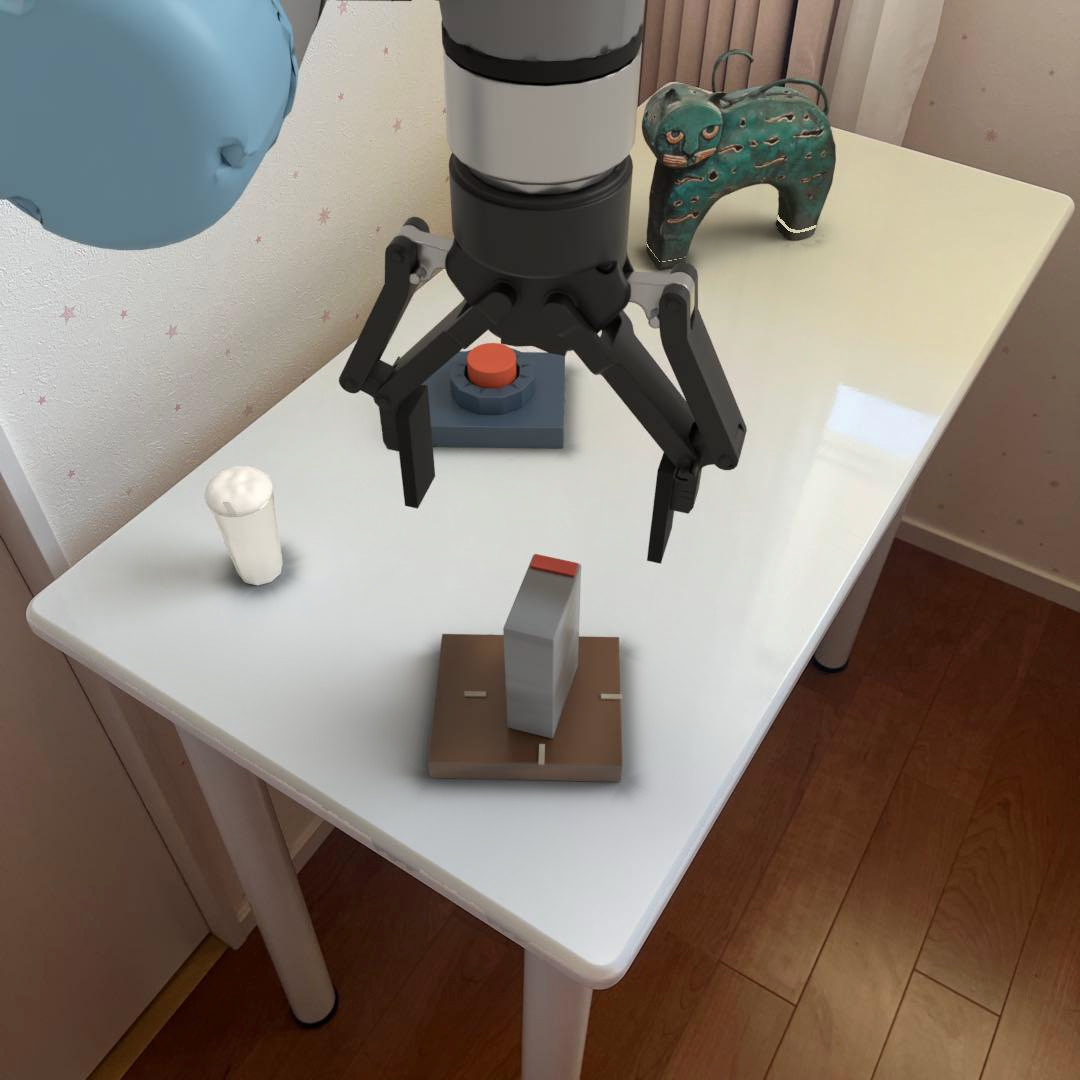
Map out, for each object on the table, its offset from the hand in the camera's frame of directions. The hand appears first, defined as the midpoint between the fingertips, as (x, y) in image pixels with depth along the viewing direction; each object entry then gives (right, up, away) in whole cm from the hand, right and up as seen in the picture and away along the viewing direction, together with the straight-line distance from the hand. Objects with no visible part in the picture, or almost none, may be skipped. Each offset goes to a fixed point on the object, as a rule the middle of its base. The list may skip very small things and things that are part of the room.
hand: (537, 517), depth 60 cm
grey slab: (0, -11, +11) cm, 16 cm away
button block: (-4, +10, +34) cm, 36 cm away
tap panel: (-1, -13, +13) cm, 18 cm away
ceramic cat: (+19, +28, +51) cm, 62 cm away
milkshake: (-20, -4, +21) cm, 30 cm away
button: (-4, +12, +31) cm, 34 cm away
